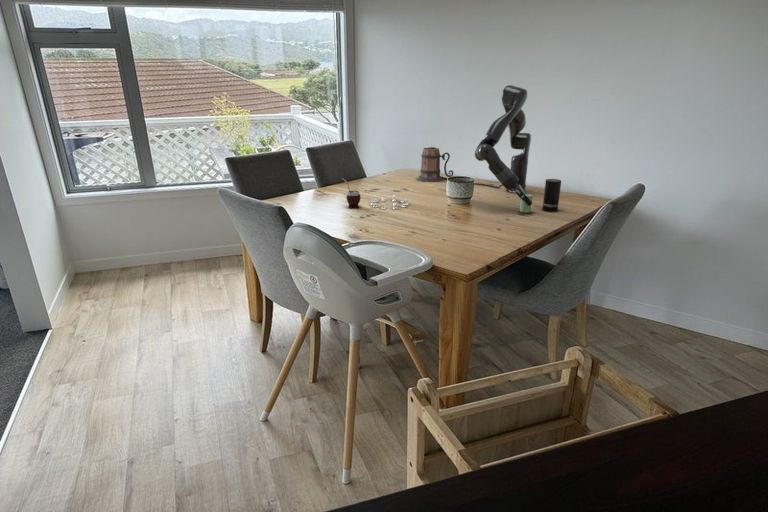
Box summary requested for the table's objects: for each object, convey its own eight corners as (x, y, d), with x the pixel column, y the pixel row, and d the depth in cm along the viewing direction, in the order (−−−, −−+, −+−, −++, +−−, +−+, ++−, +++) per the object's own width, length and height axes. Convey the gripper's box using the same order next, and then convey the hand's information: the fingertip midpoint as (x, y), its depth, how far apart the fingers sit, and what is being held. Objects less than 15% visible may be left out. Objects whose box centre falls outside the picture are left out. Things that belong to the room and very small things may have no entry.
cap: (517, 211, 231) (519, 195, 228) (522, 209, 235) (523, 193, 232) (528, 213, 228) (530, 196, 225) (532, 210, 232) (534, 194, 229)
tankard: (414, 180, 304) (414, 149, 297) (420, 176, 319) (421, 146, 312) (450, 183, 297) (452, 151, 290) (455, 178, 312) (456, 147, 305)
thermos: (539, 210, 235) (543, 180, 230) (545, 207, 241) (548, 178, 236) (554, 212, 231) (558, 182, 226) (559, 209, 237) (563, 179, 231)
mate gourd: (363, 207, 241) (363, 177, 235) (352, 210, 235) (351, 179, 230) (353, 204, 245) (352, 175, 240) (342, 207, 240) (341, 177, 235)
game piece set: (384, 198, 259) (384, 191, 258) (415, 203, 248) (415, 196, 247) (362, 205, 244) (362, 198, 243) (394, 211, 233) (394, 203, 232)
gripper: (514, 175, 219) (538, 201, 222) (511, 169, 233) (534, 194, 235) (501, 186, 222) (525, 212, 224) (499, 179, 235) (522, 204, 238)
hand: (529, 202), depth 230 cm, fingers closed on cap, 5 cm apart
